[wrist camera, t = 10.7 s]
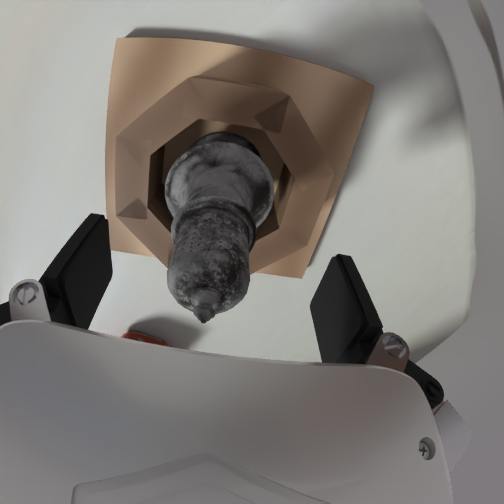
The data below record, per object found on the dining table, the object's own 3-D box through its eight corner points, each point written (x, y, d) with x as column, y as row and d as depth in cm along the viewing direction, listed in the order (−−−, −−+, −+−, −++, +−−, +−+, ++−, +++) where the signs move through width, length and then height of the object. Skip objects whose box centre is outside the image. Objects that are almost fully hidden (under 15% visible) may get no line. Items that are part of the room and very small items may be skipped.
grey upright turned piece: (159, 157, 17) (72, 291, 7) (240, 110, 15) (241, 194, 6) (208, 224, 20) (187, 382, 10) (283, 187, 19) (329, 340, 9)
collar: (368, 84, 15) (401, 93, 11) (299, 270, 24) (309, 310, 21) (122, 38, 13) (90, 35, 9) (113, 242, 22) (94, 278, 18)
